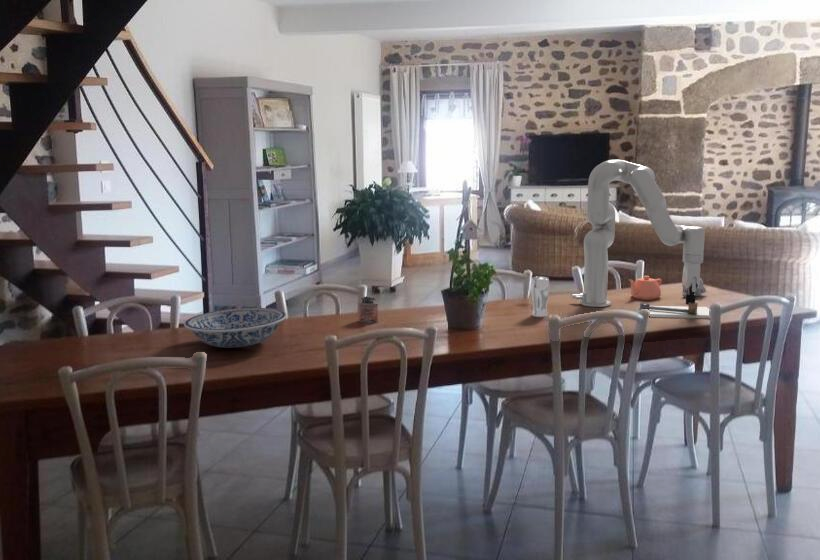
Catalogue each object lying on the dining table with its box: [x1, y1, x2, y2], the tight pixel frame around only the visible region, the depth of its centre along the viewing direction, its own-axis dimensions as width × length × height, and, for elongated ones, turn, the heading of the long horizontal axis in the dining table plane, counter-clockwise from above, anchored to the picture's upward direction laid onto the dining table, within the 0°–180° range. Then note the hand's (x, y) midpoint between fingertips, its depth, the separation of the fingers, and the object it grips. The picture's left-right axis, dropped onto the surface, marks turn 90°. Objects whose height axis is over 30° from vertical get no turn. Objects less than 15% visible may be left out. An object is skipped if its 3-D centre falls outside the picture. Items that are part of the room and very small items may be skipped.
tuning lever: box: [639, 302, 699, 314], centre depth 294 cm, size 21×4×4 cm, turn 61°
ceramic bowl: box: [183, 307, 287, 349], centre depth 259 cm, size 34×34×10 cm
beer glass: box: [530, 276, 550, 318], centre depth 295 cm, size 7×7×15 cm
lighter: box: [358, 295, 379, 324], centre depth 290 cm, size 8×3×10 cm, turn 62°
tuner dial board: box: [638, 305, 710, 319], centre depth 296 cm, size 26×17×1 cm, turn 81°
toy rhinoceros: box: [681, 277, 707, 299], centre depth 328 cm, size 7×12×8 cm, turn 119°
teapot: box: [628, 275, 662, 301], centre depth 327 cm, size 12×18×10 cm
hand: (690, 304), depth 297 cm, fingers closed
